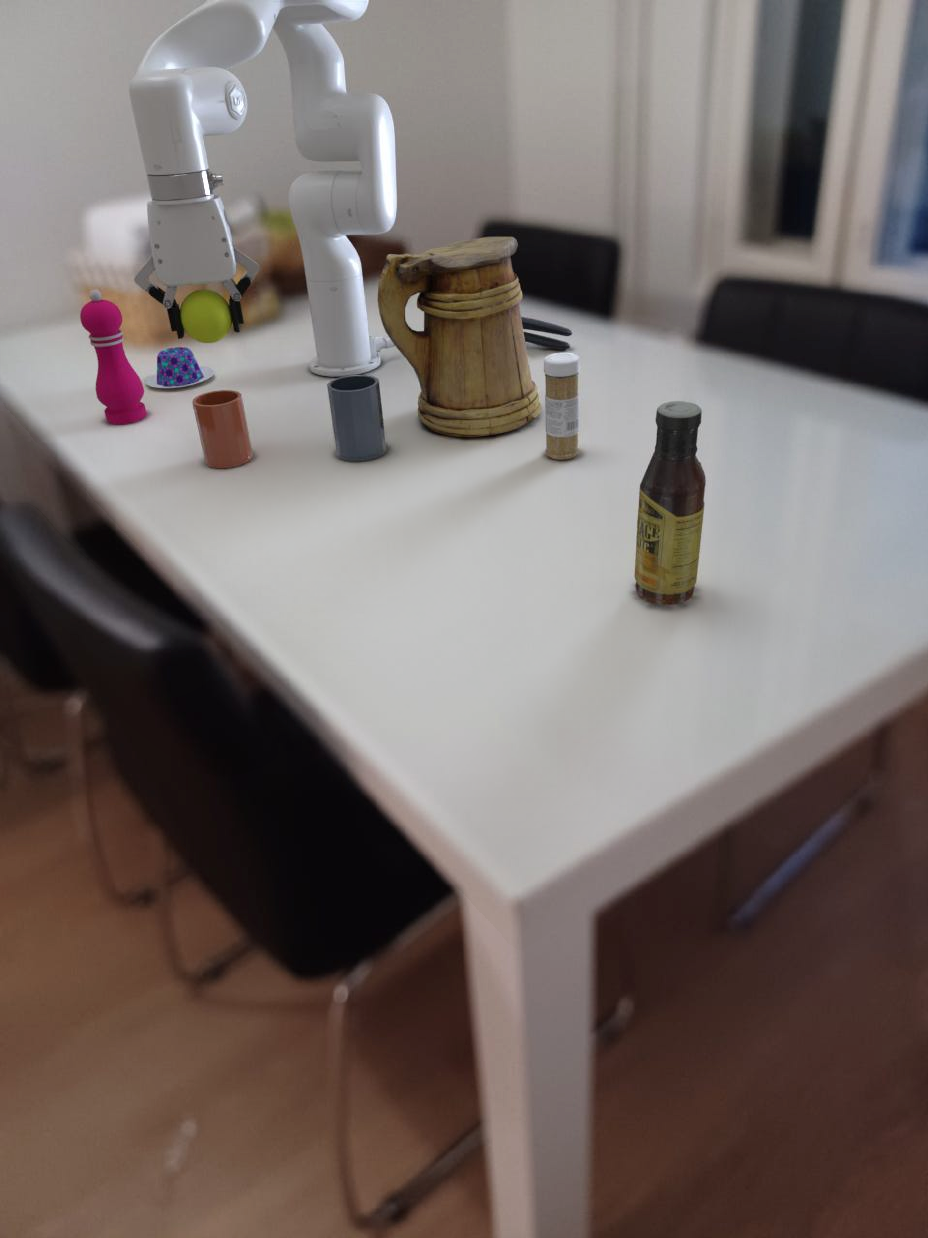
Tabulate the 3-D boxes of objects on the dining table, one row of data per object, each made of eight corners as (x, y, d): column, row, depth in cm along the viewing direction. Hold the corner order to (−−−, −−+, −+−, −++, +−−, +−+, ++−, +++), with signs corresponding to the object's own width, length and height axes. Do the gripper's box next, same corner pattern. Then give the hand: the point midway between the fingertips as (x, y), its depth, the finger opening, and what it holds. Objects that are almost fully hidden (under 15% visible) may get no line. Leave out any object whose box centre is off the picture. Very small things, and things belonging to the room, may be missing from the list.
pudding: (131, 389, 166) (123, 359, 163) (173, 368, 175) (167, 339, 172) (188, 394, 161) (181, 363, 159) (228, 372, 171) (222, 342, 168)
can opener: (475, 345, 176) (474, 314, 173) (494, 335, 181) (493, 305, 178) (562, 356, 167) (561, 323, 164) (579, 345, 172) (579, 313, 169)
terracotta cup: (242, 446, 139) (231, 386, 135) (259, 460, 135) (248, 398, 130) (199, 458, 137) (186, 397, 132) (215, 472, 132) (201, 409, 127)
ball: (226, 332, 132) (217, 281, 129) (244, 342, 127) (234, 289, 124) (178, 341, 129) (167, 289, 126) (194, 352, 124) (183, 298, 121)
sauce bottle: (627, 580, 100) (634, 397, 90) (686, 575, 100) (700, 391, 90) (642, 613, 95) (652, 421, 84) (704, 607, 95) (721, 415, 84)
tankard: (564, 419, 141) (563, 241, 128) (421, 457, 132) (404, 269, 119) (502, 388, 155) (496, 223, 141) (369, 419, 146) (349, 247, 133)
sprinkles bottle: (567, 445, 132) (567, 349, 125) (585, 456, 129) (586, 357, 122) (539, 452, 131) (537, 355, 124) (556, 463, 127) (555, 364, 120)
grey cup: (372, 438, 139) (364, 371, 134) (395, 453, 134) (387, 383, 129) (328, 450, 136) (318, 382, 131) (350, 465, 131) (341, 395, 126)
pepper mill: (136, 426, 149) (103, 295, 139) (95, 425, 151) (59, 295, 140) (158, 410, 155) (127, 283, 145) (117, 409, 157) (85, 284, 146)
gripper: (251, 178, 123) (273, 319, 132) (111, 190, 120) (144, 333, 129) (252, 185, 116) (275, 332, 126) (105, 198, 114) (140, 347, 123)
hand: (209, 331), depth 127 cm, fingers closed on ball, 6 cm apart
